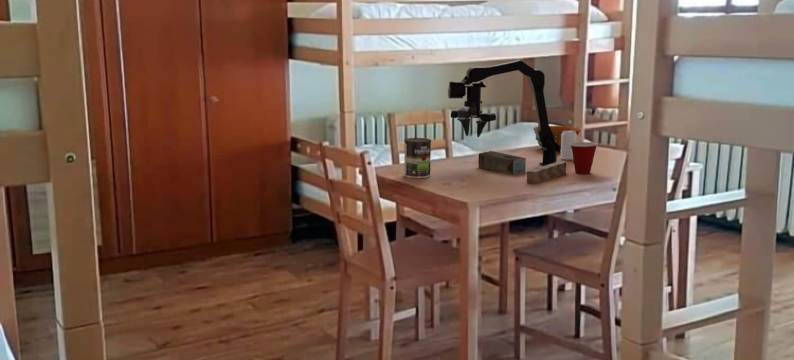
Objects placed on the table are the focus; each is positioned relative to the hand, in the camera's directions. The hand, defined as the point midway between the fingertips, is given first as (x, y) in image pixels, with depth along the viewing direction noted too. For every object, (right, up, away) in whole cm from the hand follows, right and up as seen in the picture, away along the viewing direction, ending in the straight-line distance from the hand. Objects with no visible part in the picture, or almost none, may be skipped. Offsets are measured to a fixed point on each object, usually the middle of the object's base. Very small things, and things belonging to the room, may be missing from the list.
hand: (472, 136), depth 333 cm
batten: (+26, -17, -21) cm, 38 cm away
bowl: (+42, -4, +41) cm, 59 cm away
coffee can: (-23, -16, -18) cm, 34 cm away
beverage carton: (+11, -14, -6) cm, 19 cm away
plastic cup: (+42, -15, -11) cm, 46 cm away
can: (+43, -9, +18) cm, 47 cm away
